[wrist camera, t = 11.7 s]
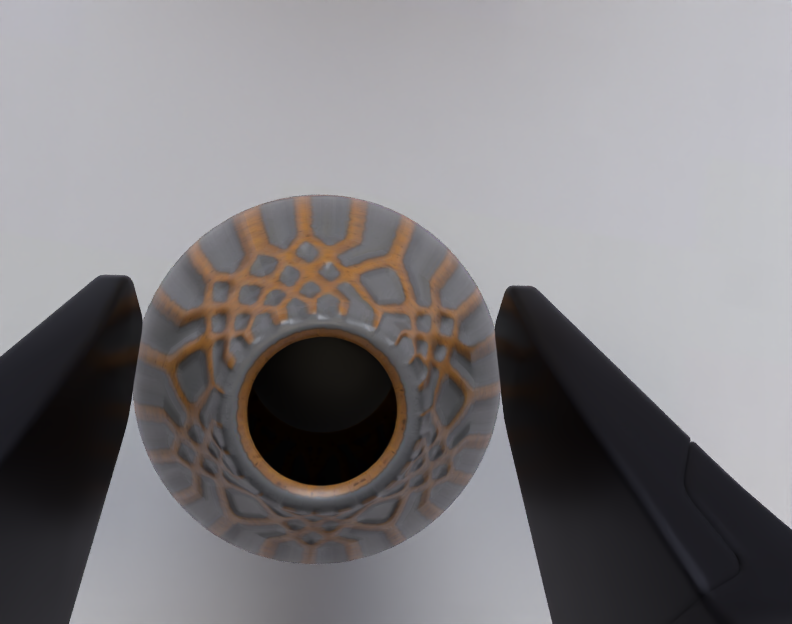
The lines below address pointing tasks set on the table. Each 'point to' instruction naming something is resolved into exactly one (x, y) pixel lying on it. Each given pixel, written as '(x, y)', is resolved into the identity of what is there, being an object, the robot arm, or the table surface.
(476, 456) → the vase
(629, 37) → the table surface
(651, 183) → the table surface
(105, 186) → the table surface
